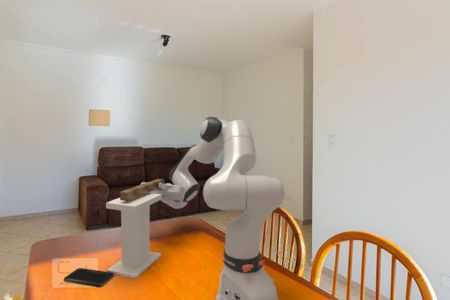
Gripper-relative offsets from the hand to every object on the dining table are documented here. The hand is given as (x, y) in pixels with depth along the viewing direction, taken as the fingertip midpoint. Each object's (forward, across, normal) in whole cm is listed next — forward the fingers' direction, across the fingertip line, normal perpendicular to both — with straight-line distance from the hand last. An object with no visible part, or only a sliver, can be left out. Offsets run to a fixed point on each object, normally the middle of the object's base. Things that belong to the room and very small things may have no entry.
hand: (154, 183), depth 115 cm
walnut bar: (+5, 0, +5) cm, 7 cm away
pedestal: (-3, 0, +32) cm, 32 cm away
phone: (+8, -9, +39) cm, 41 cm away
